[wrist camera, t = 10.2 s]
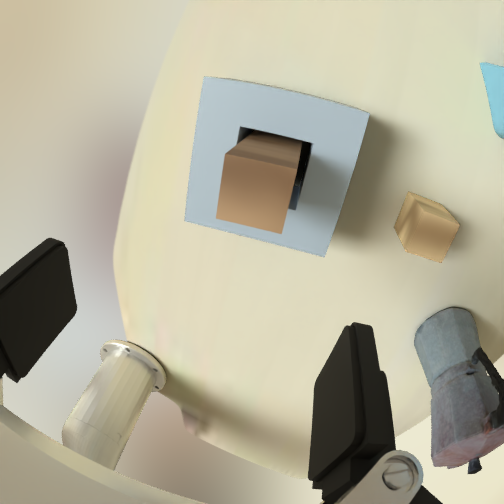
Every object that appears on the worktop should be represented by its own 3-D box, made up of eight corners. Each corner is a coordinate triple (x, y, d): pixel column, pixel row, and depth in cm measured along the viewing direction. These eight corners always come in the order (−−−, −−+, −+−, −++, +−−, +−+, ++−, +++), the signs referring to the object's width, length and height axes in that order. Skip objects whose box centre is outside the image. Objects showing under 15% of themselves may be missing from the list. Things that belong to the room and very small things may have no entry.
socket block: (323, 226, 30) (324, 257, 25) (206, 196, 31) (184, 221, 26) (357, 108, 24) (369, 113, 19) (225, 78, 25) (203, 76, 20)
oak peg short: (426, 238, 29) (441, 263, 24) (393, 227, 29) (405, 251, 25) (441, 204, 27) (460, 225, 22) (408, 191, 27) (423, 210, 23)
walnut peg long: (293, 177, 29) (281, 234, 18) (252, 167, 29) (215, 218, 19) (303, 136, 26) (297, 169, 16) (259, 127, 27) (224, 153, 16)
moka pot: (404, 371, 39) (419, 499, 22) (414, 286, 32) (460, 447, 15) (462, 361, 36) (492, 479, 19) (484, 275, 29) (555, 412, 12)
